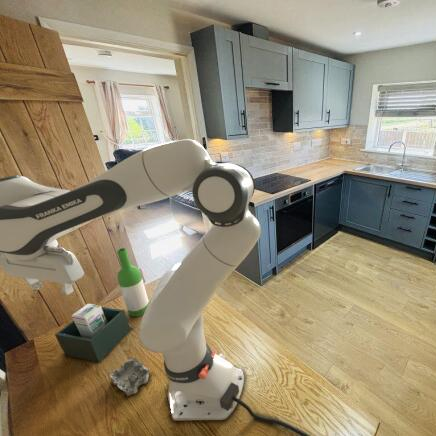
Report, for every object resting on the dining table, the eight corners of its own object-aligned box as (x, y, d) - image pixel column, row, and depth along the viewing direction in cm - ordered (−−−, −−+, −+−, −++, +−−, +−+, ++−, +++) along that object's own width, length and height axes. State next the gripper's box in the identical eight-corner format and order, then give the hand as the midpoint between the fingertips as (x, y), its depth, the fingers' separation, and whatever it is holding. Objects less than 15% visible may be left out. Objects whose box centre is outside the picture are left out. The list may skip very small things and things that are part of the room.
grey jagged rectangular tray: (109, 381, 74) (106, 373, 73) (134, 362, 80) (131, 353, 79) (128, 400, 69) (124, 391, 68) (153, 378, 75) (150, 369, 74)
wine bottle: (139, 302, 105) (121, 243, 93) (154, 305, 104) (138, 246, 92) (124, 315, 98) (103, 253, 86) (140, 319, 97) (121, 256, 85)
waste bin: (130, 329, 92) (124, 310, 88) (99, 362, 80) (90, 341, 76) (100, 324, 94) (93, 305, 90) (65, 355, 82) (54, 334, 78)
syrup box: (98, 348, 83) (85, 317, 78) (84, 345, 84) (70, 314, 79) (112, 335, 89) (101, 305, 83) (99, 332, 90) (87, 302, 84)
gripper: (80, 242, 58) (98, 287, 63) (13, 234, 61) (36, 278, 66) (52, 256, 52) (74, 304, 57) (-21, 246, 55) (7, 293, 61)
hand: (53, 290), depth 62 cm, fingers open, 8 cm apart
